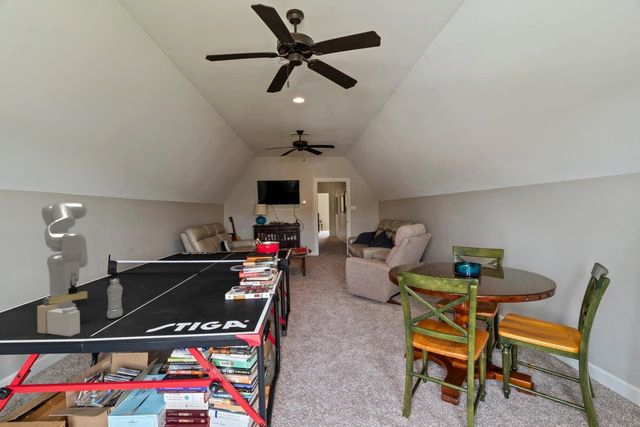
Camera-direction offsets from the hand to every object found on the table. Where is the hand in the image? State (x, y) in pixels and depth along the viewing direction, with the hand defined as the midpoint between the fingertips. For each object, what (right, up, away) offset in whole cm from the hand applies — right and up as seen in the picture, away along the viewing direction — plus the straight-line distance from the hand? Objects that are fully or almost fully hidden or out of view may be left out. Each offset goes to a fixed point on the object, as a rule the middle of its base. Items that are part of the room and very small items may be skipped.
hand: (72, 295), depth 137 cm
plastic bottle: (+16, -14, +7) cm, 22 cm away
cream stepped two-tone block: (+3, -14, -10) cm, 17 cm away
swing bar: (0, -2, -4) cm, 4 cm away
